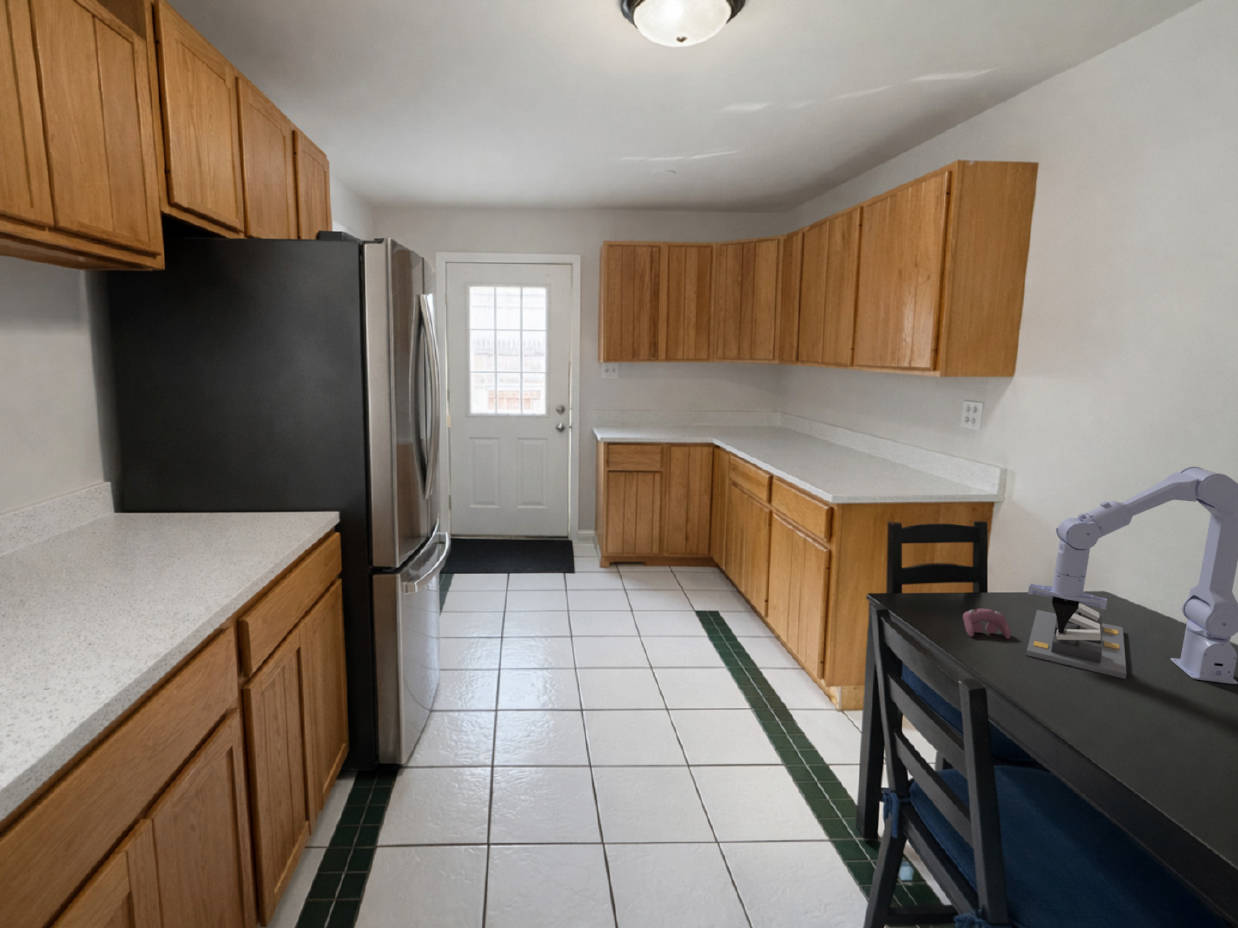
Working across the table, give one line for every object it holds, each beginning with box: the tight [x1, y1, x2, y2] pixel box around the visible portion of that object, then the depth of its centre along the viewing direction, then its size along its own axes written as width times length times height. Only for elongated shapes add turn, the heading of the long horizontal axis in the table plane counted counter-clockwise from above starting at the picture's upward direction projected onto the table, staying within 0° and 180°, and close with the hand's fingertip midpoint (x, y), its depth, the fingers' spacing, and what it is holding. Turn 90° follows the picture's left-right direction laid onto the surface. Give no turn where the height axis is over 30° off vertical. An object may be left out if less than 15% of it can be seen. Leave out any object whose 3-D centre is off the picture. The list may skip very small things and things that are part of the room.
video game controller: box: [962, 608, 1012, 640], centre depth 164 cm, size 10×5×7 cm, turn 85°
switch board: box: [1025, 609, 1127, 680], centre depth 159 cm, size 18×30×5 cm, turn 145°
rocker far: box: [1076, 603, 1100, 621], centre depth 167 cm, size 8×4×1 cm, turn 56°
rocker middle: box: [1063, 613, 1100, 630], centre depth 159 cm, size 8×4×1 cm, turn 56°
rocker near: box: [1056, 629, 1101, 640], centre depth 151 cm, size 8×4×1 cm, turn 55°
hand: (1060, 631), depth 153 cm, fingers closed
